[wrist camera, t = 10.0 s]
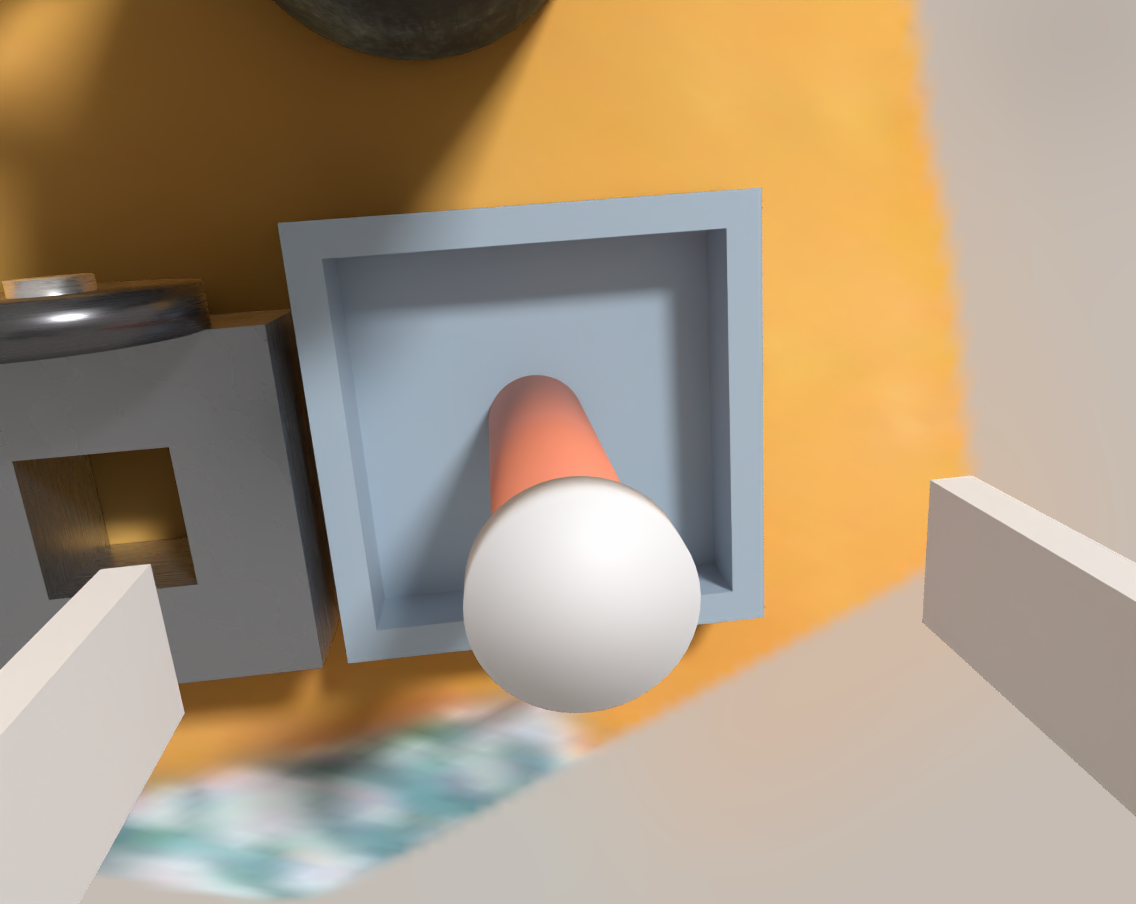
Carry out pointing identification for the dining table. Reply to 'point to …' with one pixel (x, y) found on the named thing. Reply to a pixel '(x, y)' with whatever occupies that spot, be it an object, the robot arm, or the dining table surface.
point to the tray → (513, 350)
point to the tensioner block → (199, 457)
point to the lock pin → (572, 564)
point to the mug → (411, 24)
